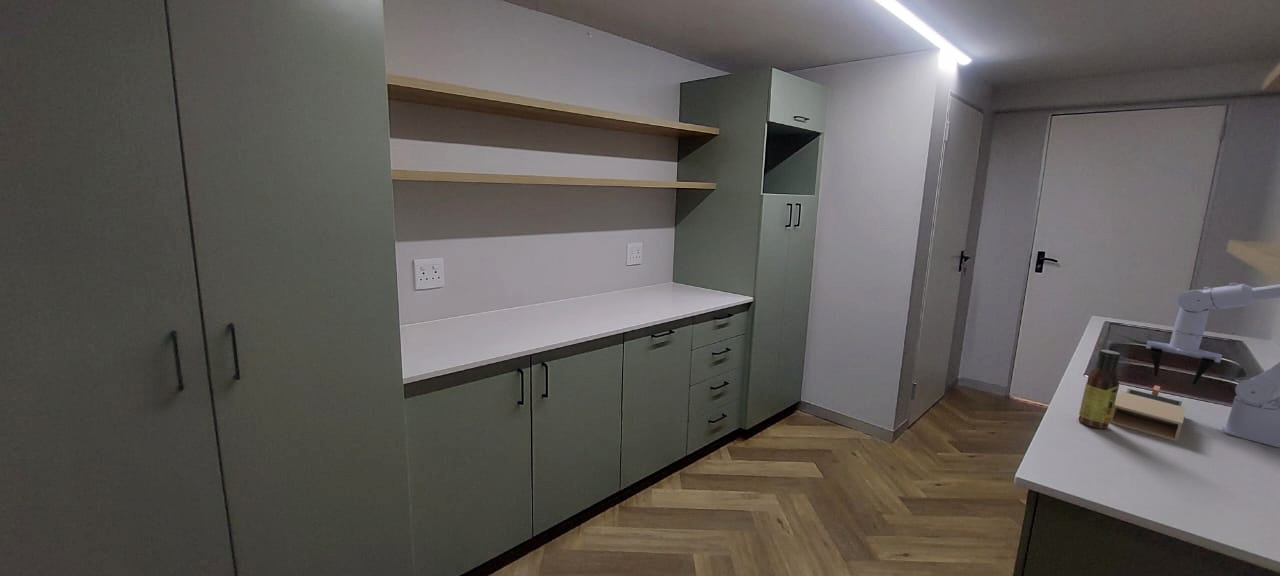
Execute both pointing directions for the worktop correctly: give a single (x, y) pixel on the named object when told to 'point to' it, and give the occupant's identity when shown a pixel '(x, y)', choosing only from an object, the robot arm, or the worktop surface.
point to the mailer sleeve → (1148, 409)
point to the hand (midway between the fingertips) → (1174, 379)
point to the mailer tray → (1155, 397)
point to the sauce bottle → (1100, 391)
